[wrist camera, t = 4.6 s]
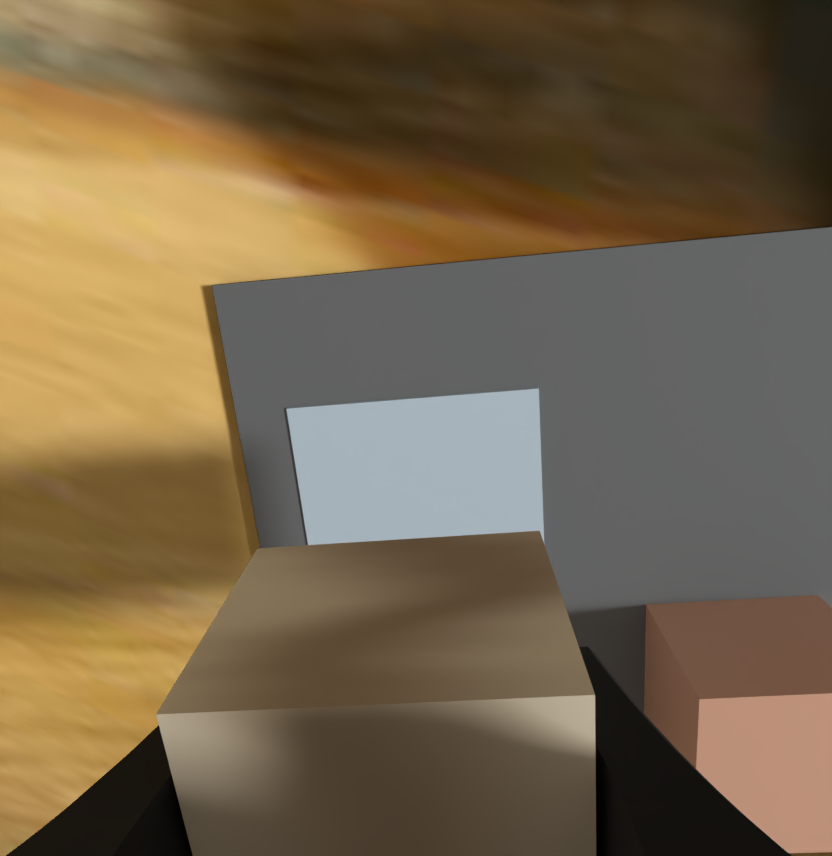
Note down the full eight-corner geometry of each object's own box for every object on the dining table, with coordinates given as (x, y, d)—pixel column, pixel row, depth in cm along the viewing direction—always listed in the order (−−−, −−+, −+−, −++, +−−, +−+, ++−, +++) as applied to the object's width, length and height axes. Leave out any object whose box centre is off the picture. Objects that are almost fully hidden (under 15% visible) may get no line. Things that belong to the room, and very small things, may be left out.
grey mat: (993, 211, 15) (1011, 210, 15) (905, 729, 20) (916, 742, 19) (217, 284, 17) (210, 286, 16) (302, 754, 21) (299, 766, 21)
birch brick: (539, 530, 10) (595, 695, 7) (547, 761, 12) (597, 1004, 8) (256, 548, 11) (156, 714, 7) (298, 770, 12) (232, 1008, 8)
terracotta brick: (817, 594, 18) (918, 689, 14) (802, 731, 19) (890, 850, 16) (645, 604, 18) (699, 699, 15) (643, 737, 20) (691, 855, 16)
